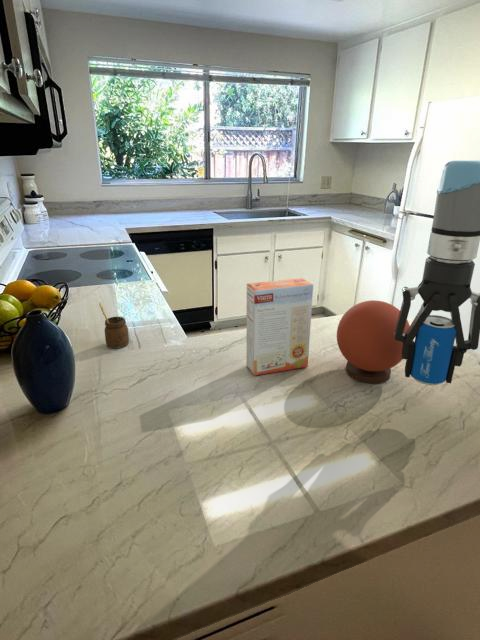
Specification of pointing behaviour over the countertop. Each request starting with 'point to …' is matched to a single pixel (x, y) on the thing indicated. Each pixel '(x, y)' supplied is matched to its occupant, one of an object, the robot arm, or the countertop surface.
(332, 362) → the countertop surface
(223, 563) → the countertop surface
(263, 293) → the cracker box
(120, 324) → the brown jar with stick
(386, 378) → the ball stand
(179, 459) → the countertop surface
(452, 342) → the beverage can
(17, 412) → the countertop surface
